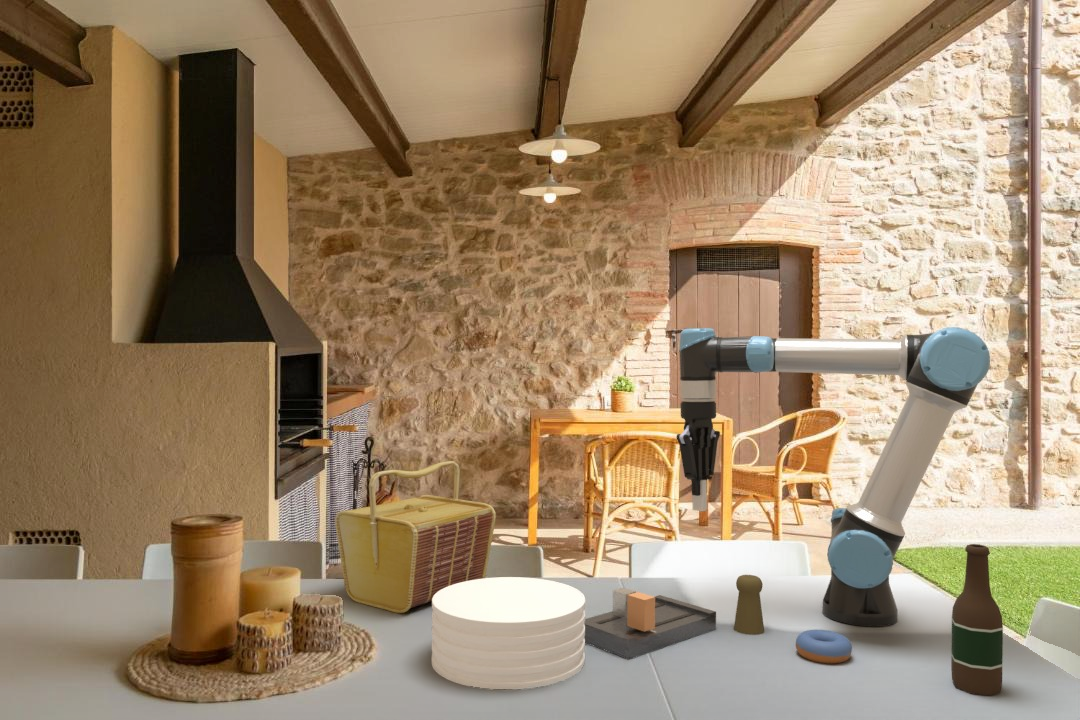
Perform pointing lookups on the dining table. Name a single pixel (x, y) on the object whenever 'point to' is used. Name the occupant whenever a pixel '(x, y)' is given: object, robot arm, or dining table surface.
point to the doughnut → (823, 646)
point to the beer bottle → (977, 630)
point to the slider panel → (670, 628)
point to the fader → (641, 611)
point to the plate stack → (508, 632)
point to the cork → (749, 606)
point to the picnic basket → (413, 545)
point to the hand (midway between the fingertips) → (699, 510)
